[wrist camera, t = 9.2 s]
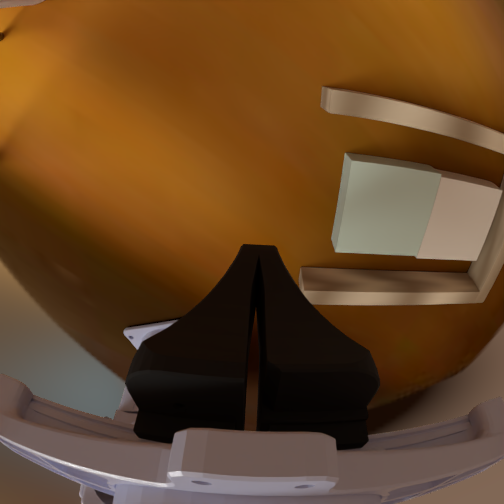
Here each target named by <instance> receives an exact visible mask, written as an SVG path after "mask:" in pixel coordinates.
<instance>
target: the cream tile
mask: <svg viewBox="0 0 504 504" xmlns="http://www.w3.org/2000/svg"><path fill="white" fill-rule="evenodd" d="M436 170H437V171H438V172H439V173H441V174H442V175H441V179H440V182H439V186H438V190H437V194H436V197H435V201H434V205H433V208H432V211H431V215H430V218H429V221H428V224H427V228H426V231H425V234H424V237H423V240H422V243H421V245H420V248H419V251H418V254H417V256H415V257H416V258H424V259H447V260H470V261H477V258H478V256H479V254H480V251H481V249H482V247H483V244H484V242H485V239H486V237H487V234H488V232H489V229H490V227H491V224H492V221H493V218H494V216H495V213H496V210H497V207H498V204H499V201H500V198H501V195H502V192H503V190H501V189H500V188H499V187H498V186H496V185H495V184H494V183H492V182H491V181H487V180H483V179H479V178H475V177H471V176H466V175H462V174H457V173H453V172H448V171H443V170H438V169H436Z"/></svg>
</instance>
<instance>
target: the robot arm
mask: <svg viewBox="0 0 504 504" xmlns="http://www.w3.org/2000/svg"><path fill="white" fill-rule="evenodd" d="M255 310H256V312H257V327H258V341H259V383H258V407H257V428H256V431H244V424H245V406H246V388H247V370H248V356H249V348H250V342H251V335H252V329H253V323H254V316H255ZM124 334H125V336H126V337H127V338H128V339H129V340H130V342H131V343H132V344H133V345H134V346H135V347H136V349H137V352H136V354H135V356H134V358H133V360H132V363H131V366H130V369H129V372H128V375H127V378H126V382H125V384H126V387H125V390H124V393H123V396H122V399H121V403H120V406H119V409H118V410H116V413H115V416H114V419H113V420H112V419H111V418H108V417H104V418H103V417H99V416H96V415H92V414H89V413H85V412H82V411H78V410H75V409H72V408H69V407H66V406H63V405H60V404H57V403H54V402H51V401H48V400H46V399H43V398H40V397H38V396H35V395H33V394H32V392H31V391H30V389H29V388H28V387H27V386H26V385H25V384H23V383H22V382H20V381H18V380H16V379H14V378H11V377H9V376H7V375H4V374H0V442H1V443H3V444H4V445H5V446H7V447H8V448H10V449H11V450H12V451H14V452H16V453H17V454H19V455H21V456H23V457H25V458H27V459H29V460H31V461H32V462H34V463H36V464H38V465H40V466H42V467H44V468H46V469H48V470H51V471H53V472H55V473H57V474H59V475H61V476H64V477H66V478H68V479H70V480H73V481H75V482H78V483H80V484H81V487H80V493H79V496H80V497H81V498H82V500H81V503H82V504H395V503H399V502H403V501H406V500H409V499H413V498H416V497H419V496H422V495H425V494H428V493H431V492H434V491H437V490H439V489H442V488H445V487H447V486H450V485H452V484H455V483H458V482H460V481H462V480H465V479H467V478H469V477H472V476H474V475H477V474H479V473H481V472H482V471H484V470H486V469H488V468H489V467H491V466H493V465H494V464H496V463H497V462H499V461H500V460H502V459H503V458H504V402H503V400H502V397H497V398H494V399H491V400H488V401H485V402H482V403H480V404H479V405H477V406H476V407H474V408H473V409H472V410H471V411H470V412H469V414H468V415H465V416H461V417H458V418H454V419H450V420H446V421H443V422H438V423H434V424H430V425H425V426H421V427H415V428H410V429H405V430H399V431H393V432H387V433H381V434H373V435H368V432H367V427H366V420H367V419H368V411H367V405H368V404H369V402H370V401H371V400H372V398H373V397H374V395H375V394H376V392H377V391H378V388H379V386H380V379H379V375H378V371H377V368H376V365H375V363H374V360H373V358H372V356H371V354H370V351H369V350H367V349H366V348H364V347H363V346H361V345H359V344H358V343H356V342H355V341H353V340H352V339H350V338H349V337H347V336H346V335H345V334H343V333H342V332H341V331H339V330H338V329H337V328H336V327H334V326H333V325H332V324H331V323H330V322H329V321H328V320H327V319H325V318H324V317H323V316H322V315H321V314H320V313H319V312H318V311H317V310H316V309H315V308H314V306H313V305H312V304H311V303H310V302H309V301H308V299H307V298H306V297H305V296H304V294H303V293H302V292H301V290H300V289H299V288H298V286H297V285H296V283H295V282H294V280H293V279H292V277H291V275H290V274H289V272H288V270H287V269H286V267H285V265H284V263H283V261H282V259H281V257H280V255H279V252H278V249H277V248H276V247H275V246H272V245H251V244H243V245H242V246H241V248H240V250H239V252H238V254H237V256H236V258H235V260H234V261H233V263H232V264H231V266H230V267H229V269H228V270H227V272H226V273H225V275H224V276H223V277H222V278H221V280H220V281H219V282H218V283H217V285H216V286H215V287H214V288H213V289H212V291H211V292H210V293H209V294H208V295H207V296H206V297H205V298H204V299H203V300H202V301H201V302H200V303H199V304H197V305H196V306H195V307H194V308H193V309H192V310H191V311H189V312H188V313H187V314H186V315H184V316H183V317H182V318H180V319H179V320H173V321H167V322H161V323H155V324H149V325H142V326H136V327H129V328H125V330H124Z"/></svg>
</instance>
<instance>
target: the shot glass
mask: <svg viewBox="0 0 504 504" xmlns="http://www.w3.org/2000/svg"><path fill="white" fill-rule="evenodd" d="M43 1H45V0H0V8H6V7H16V6H28V5H36V4H38V3H40V2H43Z"/></svg>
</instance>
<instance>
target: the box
mask: <svg viewBox="0 0 504 504" xmlns="http://www.w3.org/2000/svg"><path fill="white" fill-rule="evenodd" d="M321 107H322V108H323V109H325V110H326V111H327V112H329V113H333V114H341V115H348V116H355V117H361V118H367V119H373V120H379V121H384V122H389V123H394V124H399V125H404V126H409V127H413V128H418V129H422V130H426V131H430V132H434V133H438V134H442V135H445V136H449V137H453V138H456V139H459V140H463V141H466V142H469V143H473V144H476V145H479V146H482V147H485V148H488V149H491V150H494V151H497V152H499V153H502V154H504V133H501V132H499V131H497V130H494V129H492V128H489V127H486V126H484V125H481V124H478V123H476V122H473V121H470V120H467V119H464V118H461V117H458V116H455V115H452V114H449V113H446V112H443V111H439V110H436V109H432V108H429V107H425V106H421V105H418V104H414V103H410V102H406V101H401V100H397V99H393V98H388V97H383V96H379V95H374V94H368V93H363V92H357V91H351V90H345V89H338V88H331V87H323V86H322V96H321ZM500 189H501V190H503V192H502V195H501V198H500V201H499V204H498V207H497V210H496V213H495V216H494V218H493V221H492V224H491V227H490V229H489V232H488V234H487V237H486V239H485V242H484V244H483V247H482V249H481V251H480V254H479V256H478V258H477V261H472V263H471V266H470V268H469V270H468V272H467V273H450V272H417V271H387V270H361V269H336V268H312V267H301V269H300V275H299V287H300V290H301V292H302V293H303V294H304V296H305V297H306V298H307V299H308V301H309V302H310V303H311V304H320V305H430V304H461V303H482V302H484V300H485V298H486V296H487V295H488V293H489V291H490V289H491V287H492V285H493V283H494V281H495V280H496V278H497V276H498V274H499V272H500V270H501V268H502V265H503V263H504V176H503V179H502V183H501V186H500Z"/></svg>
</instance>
